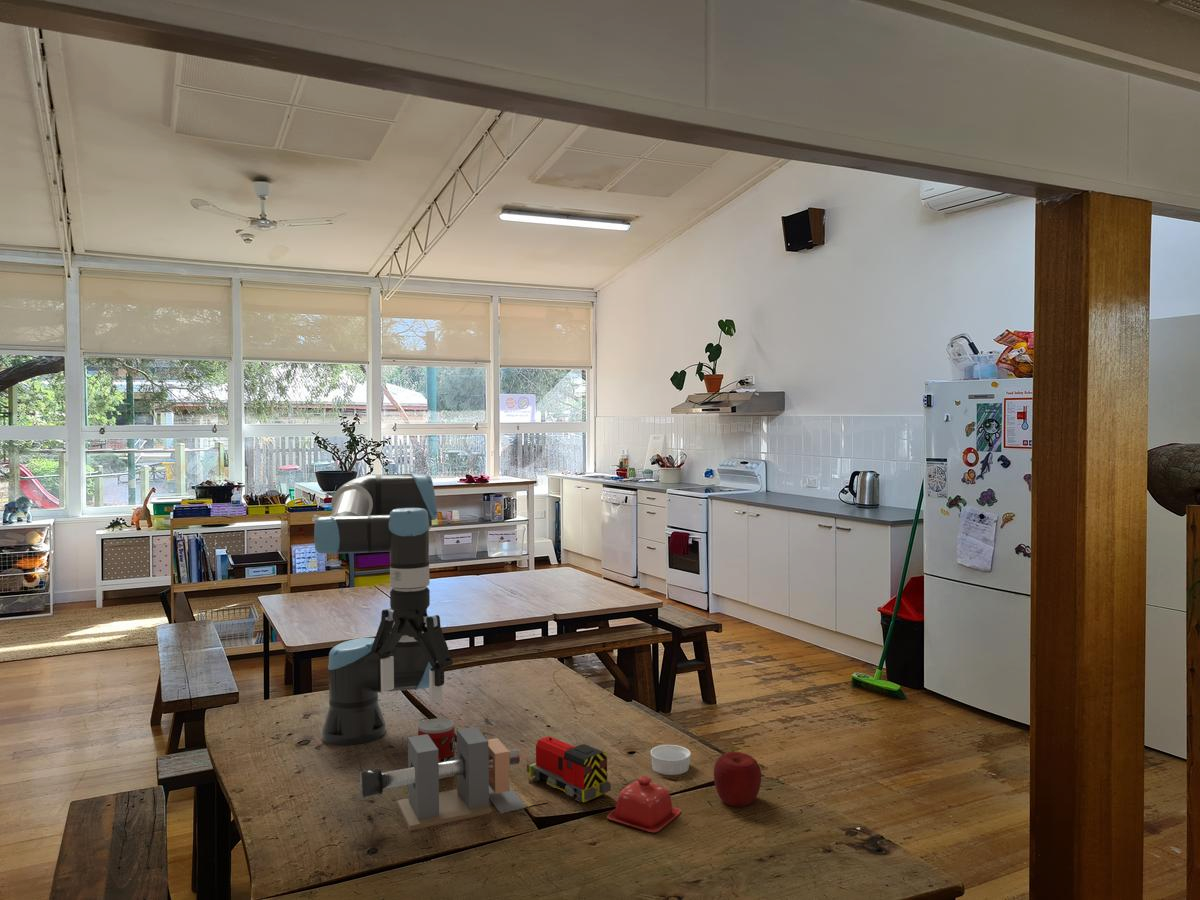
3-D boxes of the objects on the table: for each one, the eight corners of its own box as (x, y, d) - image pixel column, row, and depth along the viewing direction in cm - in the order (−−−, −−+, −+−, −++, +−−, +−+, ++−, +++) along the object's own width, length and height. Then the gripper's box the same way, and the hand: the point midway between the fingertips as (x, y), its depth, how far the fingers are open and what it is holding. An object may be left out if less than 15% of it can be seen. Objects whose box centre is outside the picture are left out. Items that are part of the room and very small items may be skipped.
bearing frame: (409, 831, 157) (408, 757, 157) (397, 805, 168) (396, 736, 168) (491, 814, 164) (490, 743, 164) (474, 790, 175) (473, 724, 174)
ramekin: (698, 770, 184) (698, 751, 184) (674, 783, 178) (673, 763, 178) (667, 760, 190) (667, 741, 190) (642, 772, 184) (642, 752, 184)
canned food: (447, 782, 179) (446, 731, 179) (412, 779, 181) (411, 729, 180) (460, 768, 187) (459, 719, 186) (426, 765, 188) (426, 717, 188)
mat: (479, 787, 176) (479, 784, 176) (524, 778, 181) (524, 775, 181) (500, 814, 164) (500, 811, 164) (547, 804, 168) (547, 802, 168)
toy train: (587, 810, 166) (586, 760, 165) (526, 781, 180) (525, 735, 179) (611, 799, 170) (611, 751, 170) (550, 771, 184) (549, 727, 184)
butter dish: (684, 815, 163) (684, 772, 163) (655, 840, 154) (655, 794, 154) (634, 801, 170) (633, 760, 169) (603, 824, 160) (603, 780, 160)
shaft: (363, 801, 157) (363, 776, 157) (359, 791, 162) (359, 767, 161) (521, 772, 170) (521, 749, 170) (513, 763, 175) (513, 741, 174)
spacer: (483, 778, 174) (483, 740, 173) (497, 775, 175) (497, 738, 175) (495, 793, 166) (495, 753, 166) (509, 790, 168) (509, 751, 167)
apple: (732, 819, 161) (732, 767, 161) (703, 799, 170) (703, 751, 169) (771, 808, 166) (771, 758, 165) (741, 790, 174) (741, 742, 174)
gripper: (352, 584, 167) (353, 690, 167) (441, 597, 153) (443, 713, 153) (381, 579, 173) (382, 681, 173) (470, 591, 159) (471, 702, 159)
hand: (411, 696), depth 163 cm, fingers open, 13 cm apart
